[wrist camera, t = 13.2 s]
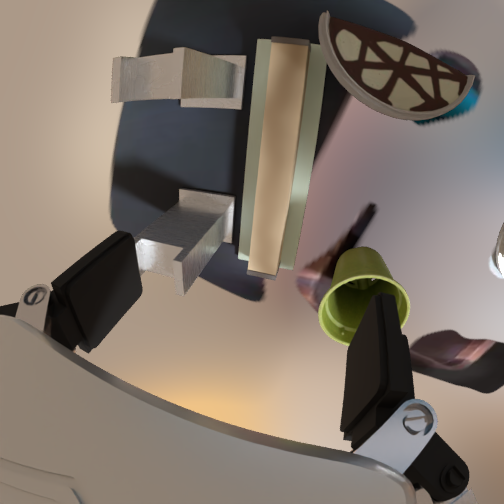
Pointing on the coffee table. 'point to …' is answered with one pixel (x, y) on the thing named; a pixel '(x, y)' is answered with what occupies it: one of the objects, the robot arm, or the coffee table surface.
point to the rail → (278, 152)
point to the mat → (303, 156)
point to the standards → (190, 200)
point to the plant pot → (357, 293)
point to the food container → (390, 71)
